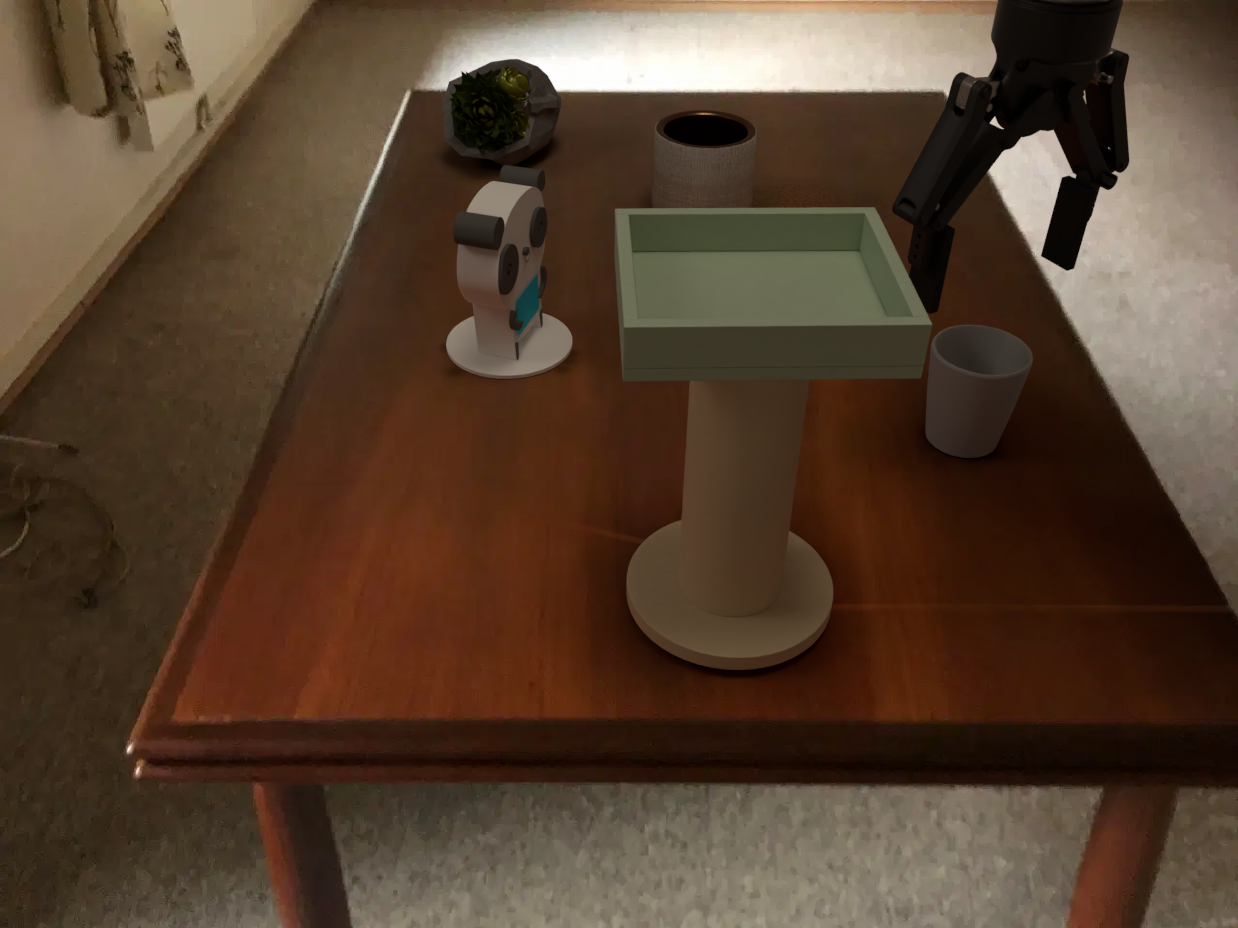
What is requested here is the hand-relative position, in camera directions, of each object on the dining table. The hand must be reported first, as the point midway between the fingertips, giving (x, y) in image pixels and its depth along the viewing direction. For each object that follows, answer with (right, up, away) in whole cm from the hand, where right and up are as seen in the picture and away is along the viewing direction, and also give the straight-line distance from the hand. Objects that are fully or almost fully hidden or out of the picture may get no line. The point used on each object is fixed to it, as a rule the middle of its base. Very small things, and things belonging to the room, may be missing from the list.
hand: (991, 283), depth 85 cm
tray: (-20, -22, -7) cm, 31 cm away
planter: (-19, +14, +40) cm, 46 cm away
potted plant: (-41, +22, +50) cm, 69 cm away
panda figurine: (-38, -3, +18) cm, 42 cm away
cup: (0, -11, +8) cm, 14 cm away
